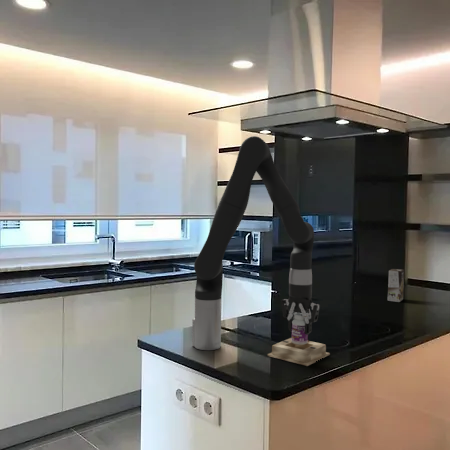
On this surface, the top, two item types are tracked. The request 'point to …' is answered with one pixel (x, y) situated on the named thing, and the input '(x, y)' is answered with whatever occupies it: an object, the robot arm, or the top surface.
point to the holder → (299, 352)
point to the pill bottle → (299, 330)
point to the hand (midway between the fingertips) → (299, 332)
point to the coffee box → (395, 285)
